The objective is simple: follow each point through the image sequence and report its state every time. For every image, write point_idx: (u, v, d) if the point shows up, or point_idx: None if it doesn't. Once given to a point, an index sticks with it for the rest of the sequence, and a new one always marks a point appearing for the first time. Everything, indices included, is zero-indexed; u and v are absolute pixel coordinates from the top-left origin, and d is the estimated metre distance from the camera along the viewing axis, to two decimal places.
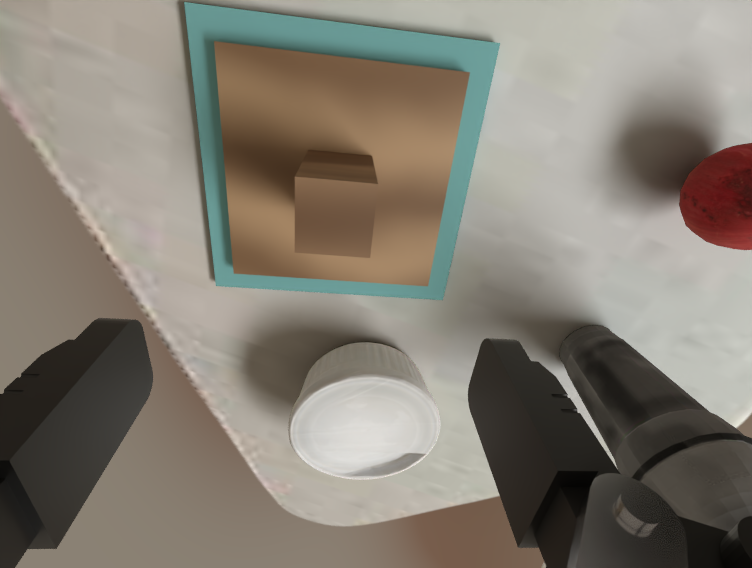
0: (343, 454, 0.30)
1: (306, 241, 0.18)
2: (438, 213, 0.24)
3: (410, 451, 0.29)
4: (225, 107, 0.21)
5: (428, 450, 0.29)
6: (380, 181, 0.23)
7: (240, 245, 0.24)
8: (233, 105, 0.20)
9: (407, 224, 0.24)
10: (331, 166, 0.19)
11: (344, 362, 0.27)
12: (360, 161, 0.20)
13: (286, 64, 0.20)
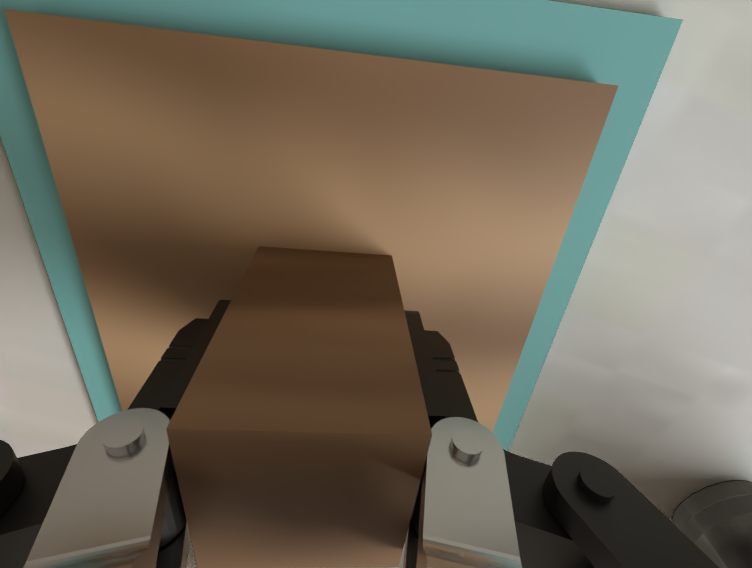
0: None
1: (226, 550, 0.07)
2: (515, 350, 0.13)
3: None
4: (63, 164, 0.09)
5: None
6: (407, 301, 0.11)
7: None
8: (82, 159, 0.09)
9: None
10: (298, 325, 0.07)
11: None
12: (369, 286, 0.09)
13: (194, 67, 0.08)
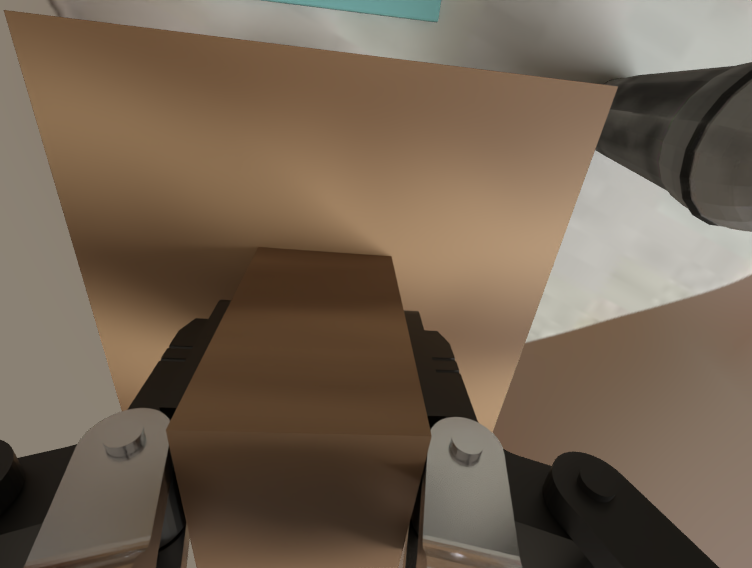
0: None
1: (226, 551, 0.07)
2: (514, 350, 0.13)
3: None
4: (63, 165, 0.09)
5: None
6: (407, 301, 0.11)
7: None
8: (81, 160, 0.09)
9: None
10: (298, 326, 0.07)
11: None
12: (369, 287, 0.09)
13: (193, 68, 0.08)
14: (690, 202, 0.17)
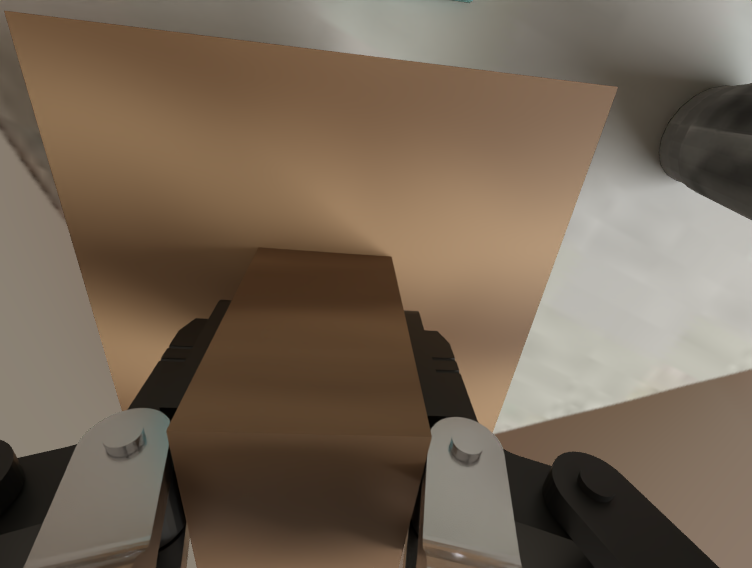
0: None
1: (226, 551, 0.07)
2: (514, 351, 0.13)
3: None
4: (63, 165, 0.09)
5: None
6: (407, 302, 0.11)
7: None
8: (81, 160, 0.09)
9: None
10: (298, 327, 0.07)
11: None
12: (369, 287, 0.09)
13: (193, 69, 0.08)
14: None
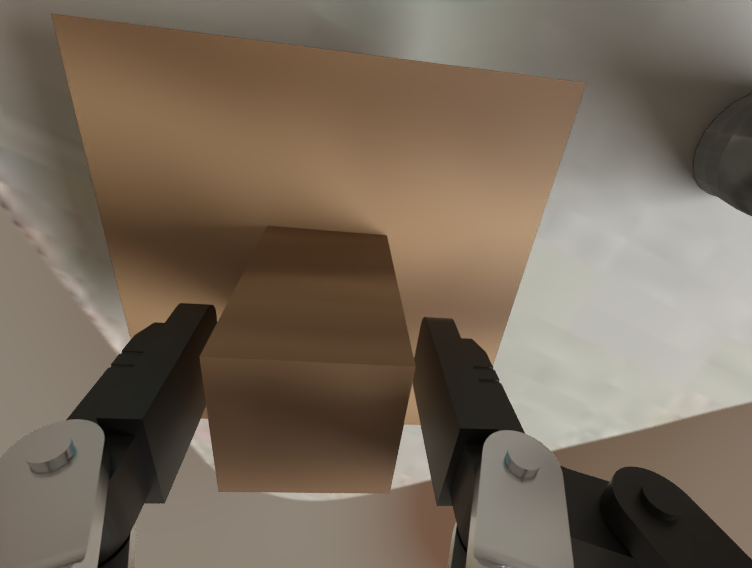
0: None
1: (243, 473, 0.08)
2: (499, 324, 0.14)
3: None
4: (96, 150, 0.10)
5: None
6: (401, 277, 0.13)
7: None
8: (112, 145, 0.10)
9: None
10: (304, 287, 0.09)
11: None
12: (366, 259, 0.10)
13: (213, 65, 0.09)
14: None
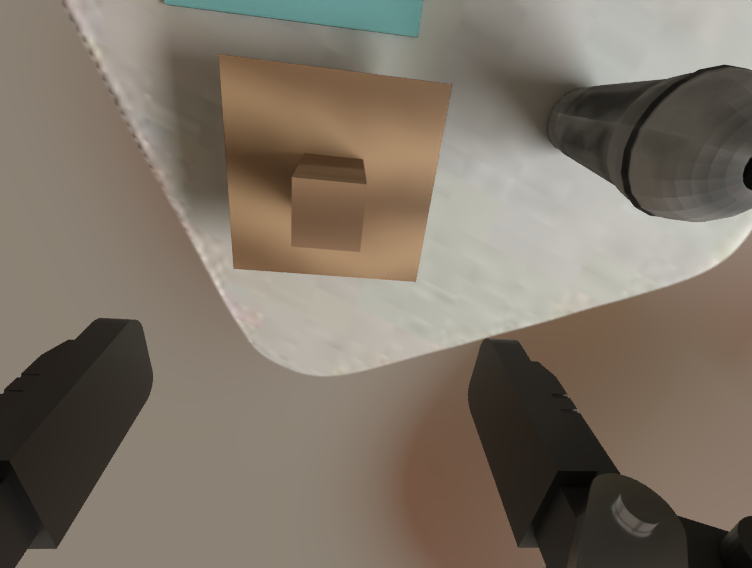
0: None
1: (302, 236, 0.20)
2: (424, 213, 0.26)
3: None
4: (228, 114, 0.22)
5: None
6: (371, 183, 0.25)
7: (240, 242, 0.26)
8: (236, 112, 0.22)
9: (396, 223, 0.26)
10: (325, 168, 0.21)
11: None
12: (352, 164, 0.22)
13: (284, 75, 0.22)
14: (631, 195, 0.20)
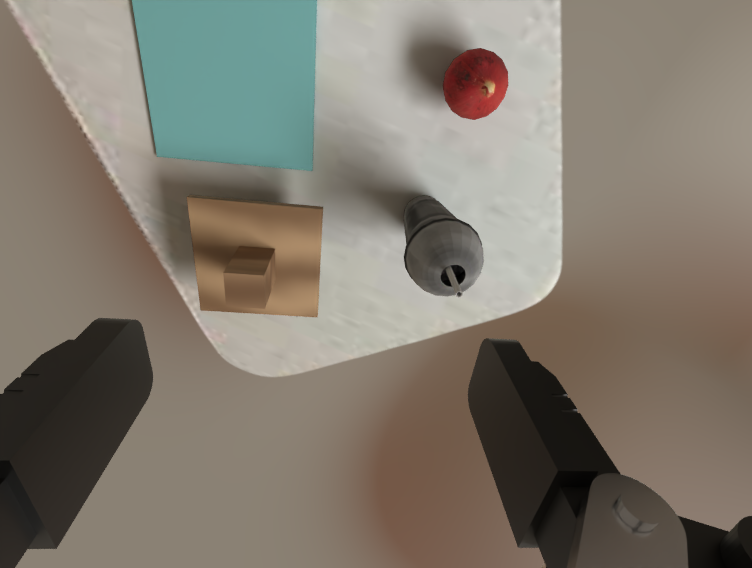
0: None
1: (231, 301, 0.36)
2: (317, 277, 0.42)
3: None
4: (193, 226, 0.39)
5: None
6: (281, 261, 0.41)
7: (204, 294, 0.43)
8: (197, 225, 0.39)
9: (299, 283, 0.43)
10: (246, 261, 0.37)
11: None
12: (264, 255, 0.39)
13: (224, 206, 0.38)
14: (413, 279, 0.36)
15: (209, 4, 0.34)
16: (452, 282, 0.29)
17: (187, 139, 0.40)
